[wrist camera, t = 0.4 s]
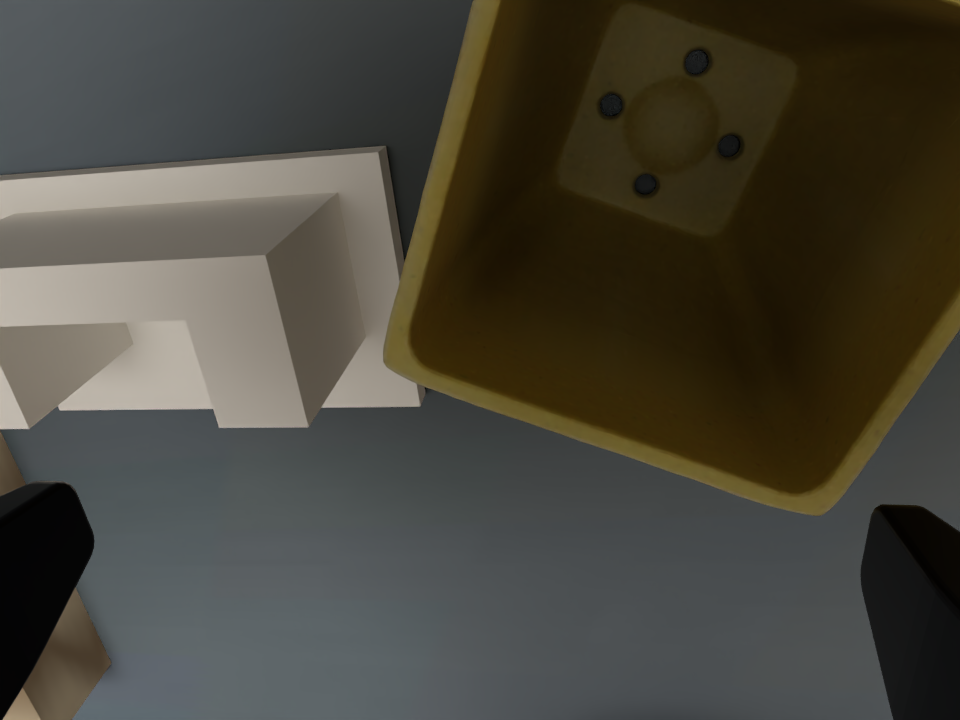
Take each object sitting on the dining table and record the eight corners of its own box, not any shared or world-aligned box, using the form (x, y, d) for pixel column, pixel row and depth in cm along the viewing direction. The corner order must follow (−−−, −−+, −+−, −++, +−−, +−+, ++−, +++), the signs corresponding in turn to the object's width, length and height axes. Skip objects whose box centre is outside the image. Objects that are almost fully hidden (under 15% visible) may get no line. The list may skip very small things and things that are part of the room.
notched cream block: (425, 393, 24) (377, 508, 19) (73, 398, 27) (-51, 501, 22) (385, 145, 21) (314, 207, 16) (-18, 176, 23) (-193, 238, 18)
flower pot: (457, 222, 21) (371, 375, 14) (559, -124, 17) (518, -191, 9) (746, 320, 22) (823, 529, 14) (920, 0, 17) (1177, 37, 9)
